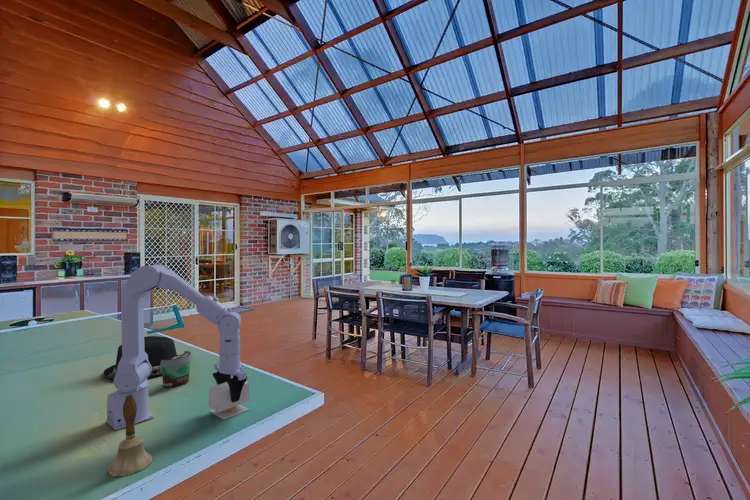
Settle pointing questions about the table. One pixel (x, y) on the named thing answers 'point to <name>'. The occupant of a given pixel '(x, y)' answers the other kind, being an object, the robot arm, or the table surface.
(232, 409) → the ball
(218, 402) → the off-white rectangular block
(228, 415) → the light gray square block
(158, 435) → the table surface
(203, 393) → the table surface
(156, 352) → the fedora
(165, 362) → the food container
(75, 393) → the table surface
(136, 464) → the hand bell
